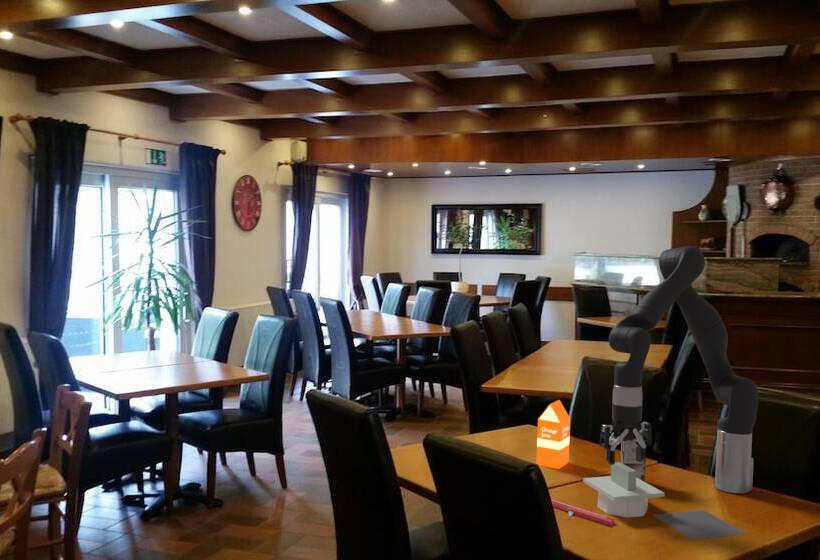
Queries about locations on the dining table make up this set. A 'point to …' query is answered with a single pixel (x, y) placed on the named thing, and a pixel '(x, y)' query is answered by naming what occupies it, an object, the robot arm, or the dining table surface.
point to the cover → (623, 485)
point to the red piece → (584, 513)
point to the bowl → (623, 506)
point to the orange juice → (553, 436)
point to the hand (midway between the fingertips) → (625, 462)
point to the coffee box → (633, 458)
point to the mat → (699, 524)
